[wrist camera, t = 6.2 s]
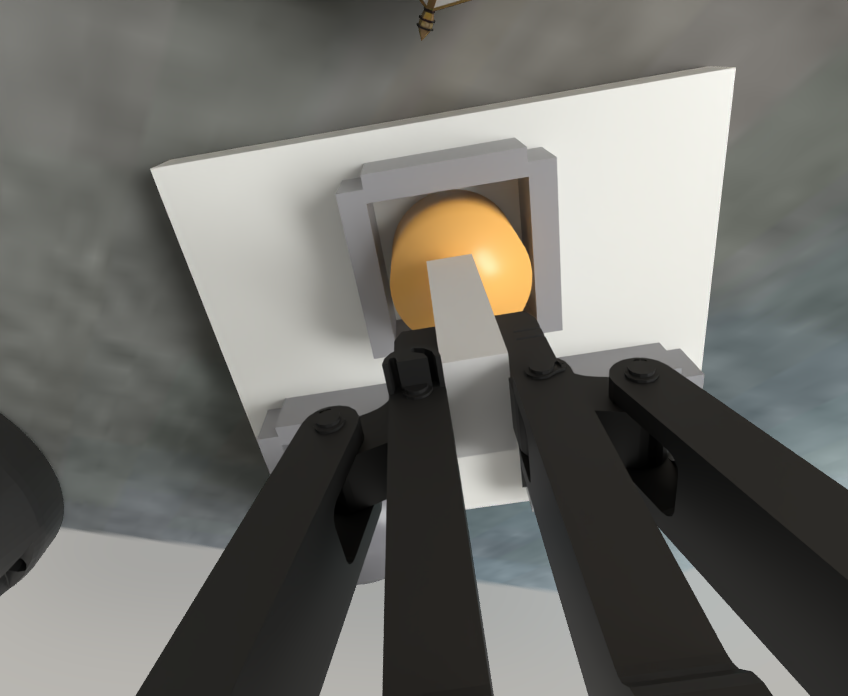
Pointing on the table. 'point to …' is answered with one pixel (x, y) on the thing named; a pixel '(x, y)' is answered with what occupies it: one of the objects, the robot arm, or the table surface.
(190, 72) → the table surface
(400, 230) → the orange button
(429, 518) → the robot arm
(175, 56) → the table surface
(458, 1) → the grey spiky polyhedron
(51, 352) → the table surface
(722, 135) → the panel
